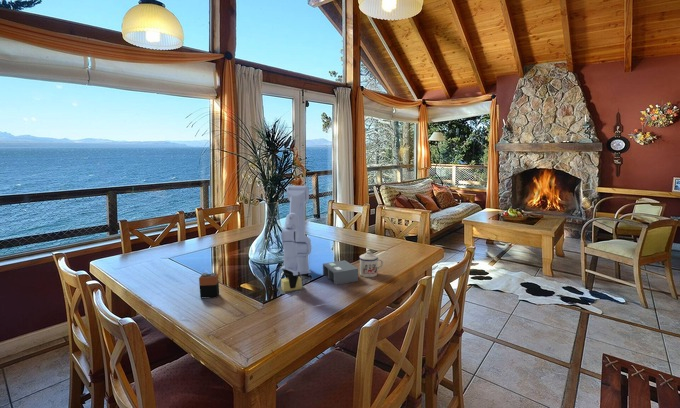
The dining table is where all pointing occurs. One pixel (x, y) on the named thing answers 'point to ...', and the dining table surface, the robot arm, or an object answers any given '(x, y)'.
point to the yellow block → (286, 286)
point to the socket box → (340, 272)
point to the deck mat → (290, 291)
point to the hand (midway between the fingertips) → (291, 286)
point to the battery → (209, 285)
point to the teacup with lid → (369, 264)
